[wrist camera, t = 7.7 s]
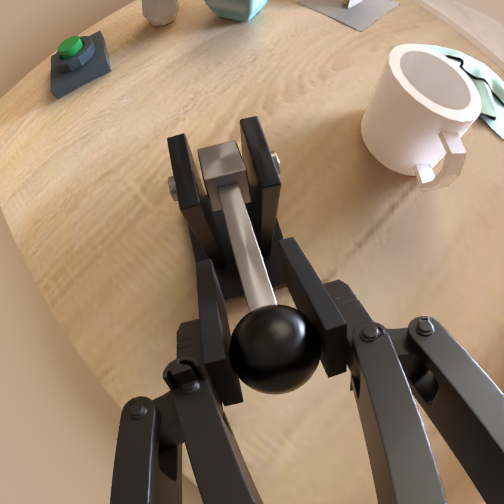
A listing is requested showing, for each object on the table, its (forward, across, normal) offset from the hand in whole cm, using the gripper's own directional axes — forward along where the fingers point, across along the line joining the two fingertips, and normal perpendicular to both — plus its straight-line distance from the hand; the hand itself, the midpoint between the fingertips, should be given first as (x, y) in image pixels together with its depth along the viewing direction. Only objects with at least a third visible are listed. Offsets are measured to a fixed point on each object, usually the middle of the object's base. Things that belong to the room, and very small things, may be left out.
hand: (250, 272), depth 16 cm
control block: (+37, -16, +19) cm, 44 cm away
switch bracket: (+13, 0, -5) cm, 14 cm away
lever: (0, 0, 0) cm, 1 cm away
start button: (+34, -16, +21) cm, 43 cm away
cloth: (+25, +40, +6) cm, 47 cm away
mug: (+17, +21, -1) cm, 27 cm away
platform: (+40, +30, +22) cm, 54 cm away
